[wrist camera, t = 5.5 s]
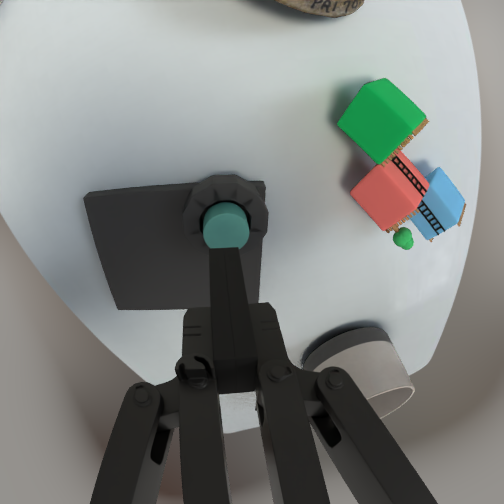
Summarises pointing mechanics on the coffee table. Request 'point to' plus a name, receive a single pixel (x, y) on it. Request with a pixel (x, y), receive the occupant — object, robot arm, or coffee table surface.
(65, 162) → the coffee table surface
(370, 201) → the building blocks
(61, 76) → the coffee table surface
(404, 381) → the planter
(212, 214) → the button
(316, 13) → the fossilized seashell
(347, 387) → the robot arm
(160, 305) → the scale
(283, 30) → the coffee table surface
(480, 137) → the coffee table surface
